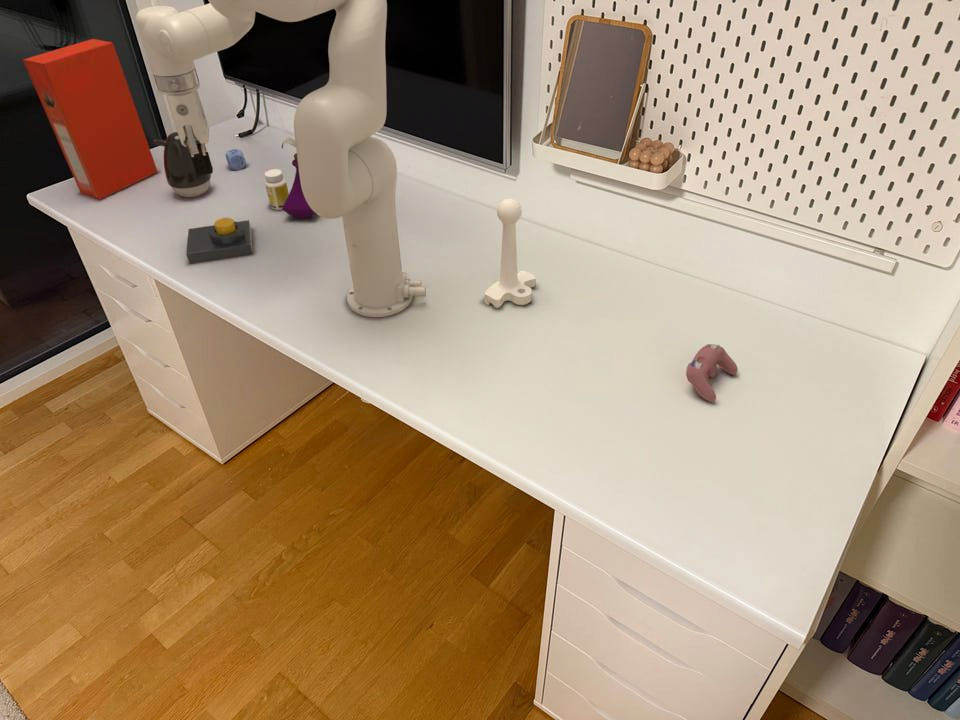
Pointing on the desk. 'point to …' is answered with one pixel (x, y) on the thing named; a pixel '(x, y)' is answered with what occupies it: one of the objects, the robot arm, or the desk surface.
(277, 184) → the supplement bottle
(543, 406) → the desk surface
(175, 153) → the pump dispenser
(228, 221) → the button
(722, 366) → the video game controller
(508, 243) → the joystick
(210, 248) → the console
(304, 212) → the perfume bottle
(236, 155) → the decorative dice
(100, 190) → the file binder
